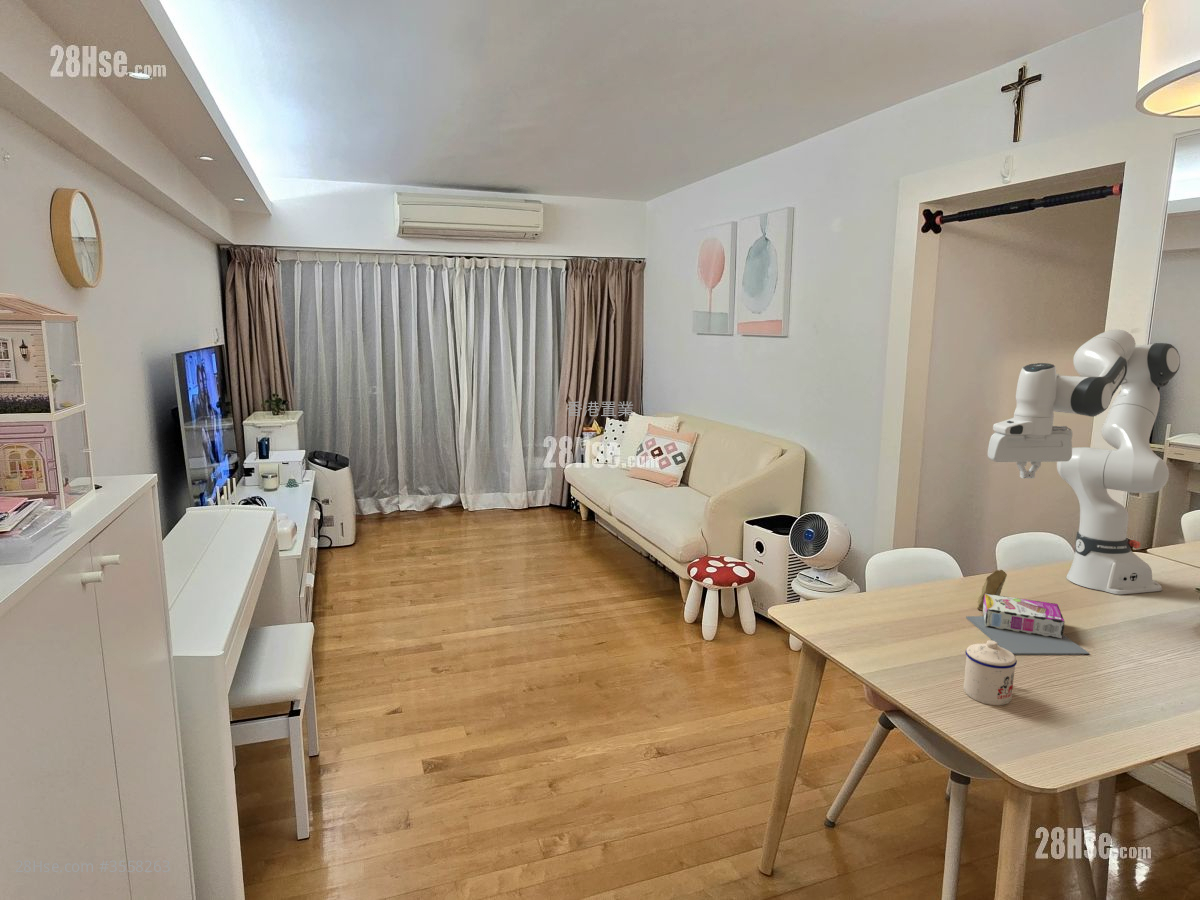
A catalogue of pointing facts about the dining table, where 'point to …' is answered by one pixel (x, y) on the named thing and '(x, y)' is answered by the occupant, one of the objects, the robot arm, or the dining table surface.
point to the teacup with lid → (989, 673)
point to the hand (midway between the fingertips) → (1027, 477)
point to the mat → (1028, 641)
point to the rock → (992, 586)
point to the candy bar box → (1023, 616)
